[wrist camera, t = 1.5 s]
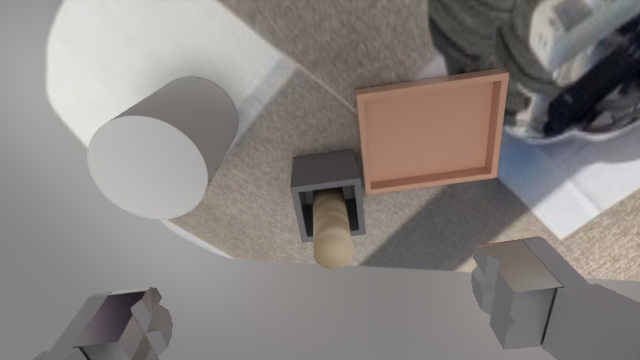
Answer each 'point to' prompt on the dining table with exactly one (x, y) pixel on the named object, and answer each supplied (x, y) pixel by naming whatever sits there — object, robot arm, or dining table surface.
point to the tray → (431, 130)
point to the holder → (322, 175)
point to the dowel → (331, 229)
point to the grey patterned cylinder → (164, 148)
